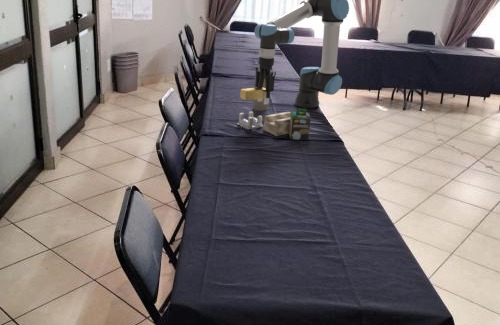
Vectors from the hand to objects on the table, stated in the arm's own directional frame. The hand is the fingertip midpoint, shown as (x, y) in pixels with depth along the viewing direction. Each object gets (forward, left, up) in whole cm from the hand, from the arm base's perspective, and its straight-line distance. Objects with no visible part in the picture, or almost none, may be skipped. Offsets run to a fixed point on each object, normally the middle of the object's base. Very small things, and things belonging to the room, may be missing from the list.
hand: (263, 102), depth 231 cm
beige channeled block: (-3, +13, -12) cm, 18 cm away
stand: (+7, 0, -12) cm, 14 cm away
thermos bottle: (-17, -23, -12) cm, 31 cm away
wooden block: (+6, 0, +3) cm, 7 cm away
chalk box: (-4, +24, -12) cm, 27 cm away
